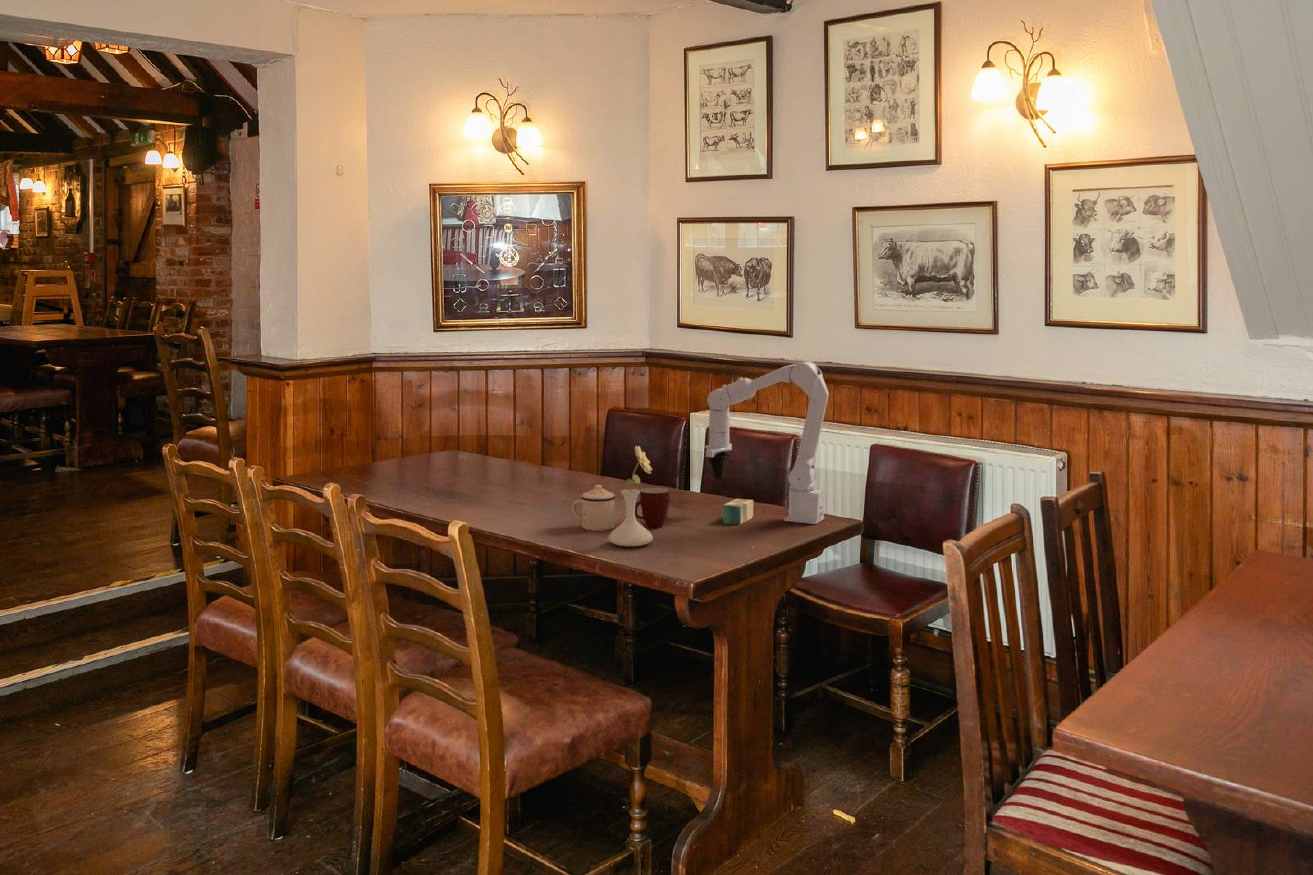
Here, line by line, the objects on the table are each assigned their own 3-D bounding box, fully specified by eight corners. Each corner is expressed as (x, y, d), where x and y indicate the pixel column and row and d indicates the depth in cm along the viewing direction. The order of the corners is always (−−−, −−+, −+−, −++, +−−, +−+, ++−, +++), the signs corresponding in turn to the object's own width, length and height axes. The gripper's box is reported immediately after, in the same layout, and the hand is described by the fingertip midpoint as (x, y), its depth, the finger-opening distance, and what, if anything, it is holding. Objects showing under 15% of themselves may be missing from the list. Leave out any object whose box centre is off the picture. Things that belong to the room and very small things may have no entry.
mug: (643, 532, 290) (643, 495, 289) (626, 526, 297) (626, 490, 295) (675, 527, 296) (675, 491, 295) (658, 521, 303) (658, 486, 302)
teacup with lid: (619, 525, 299) (619, 483, 297) (608, 532, 290) (608, 489, 289) (579, 522, 303) (578, 481, 301) (566, 529, 294) (566, 487, 292)
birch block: (739, 524, 300) (753, 517, 309) (740, 506, 299) (753, 500, 308) (723, 522, 302) (736, 515, 311) (723, 505, 301) (736, 498, 310)
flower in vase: (637, 552, 270) (636, 452, 266) (599, 546, 276) (598, 448, 272) (664, 541, 281) (664, 445, 277) (627, 536, 286) (627, 441, 283)
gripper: (716, 427, 317) (715, 473, 319) (696, 433, 304) (695, 481, 306) (738, 428, 314) (738, 475, 316) (719, 435, 301) (719, 483, 303)
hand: (718, 478), depth 311 cm, fingers closed
